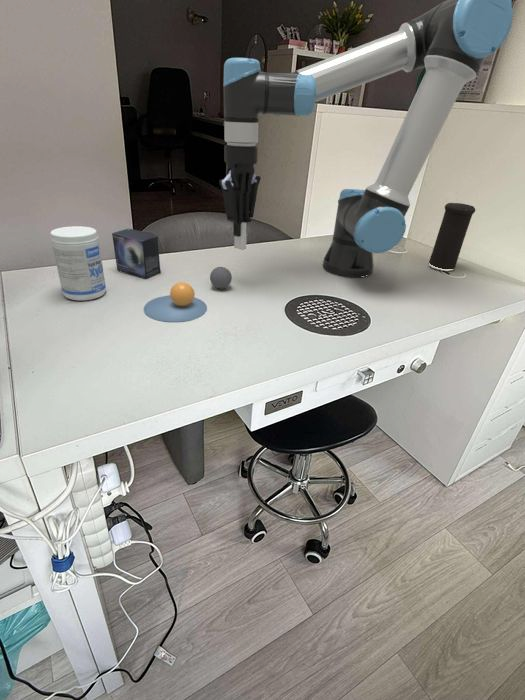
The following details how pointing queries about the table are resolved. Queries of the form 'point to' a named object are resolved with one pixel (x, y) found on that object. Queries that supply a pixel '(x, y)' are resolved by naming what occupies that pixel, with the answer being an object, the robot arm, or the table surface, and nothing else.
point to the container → (451, 235)
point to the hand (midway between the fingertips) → (240, 248)
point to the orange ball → (182, 294)
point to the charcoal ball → (220, 277)
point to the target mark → (174, 310)
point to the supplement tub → (78, 262)
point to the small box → (136, 253)
